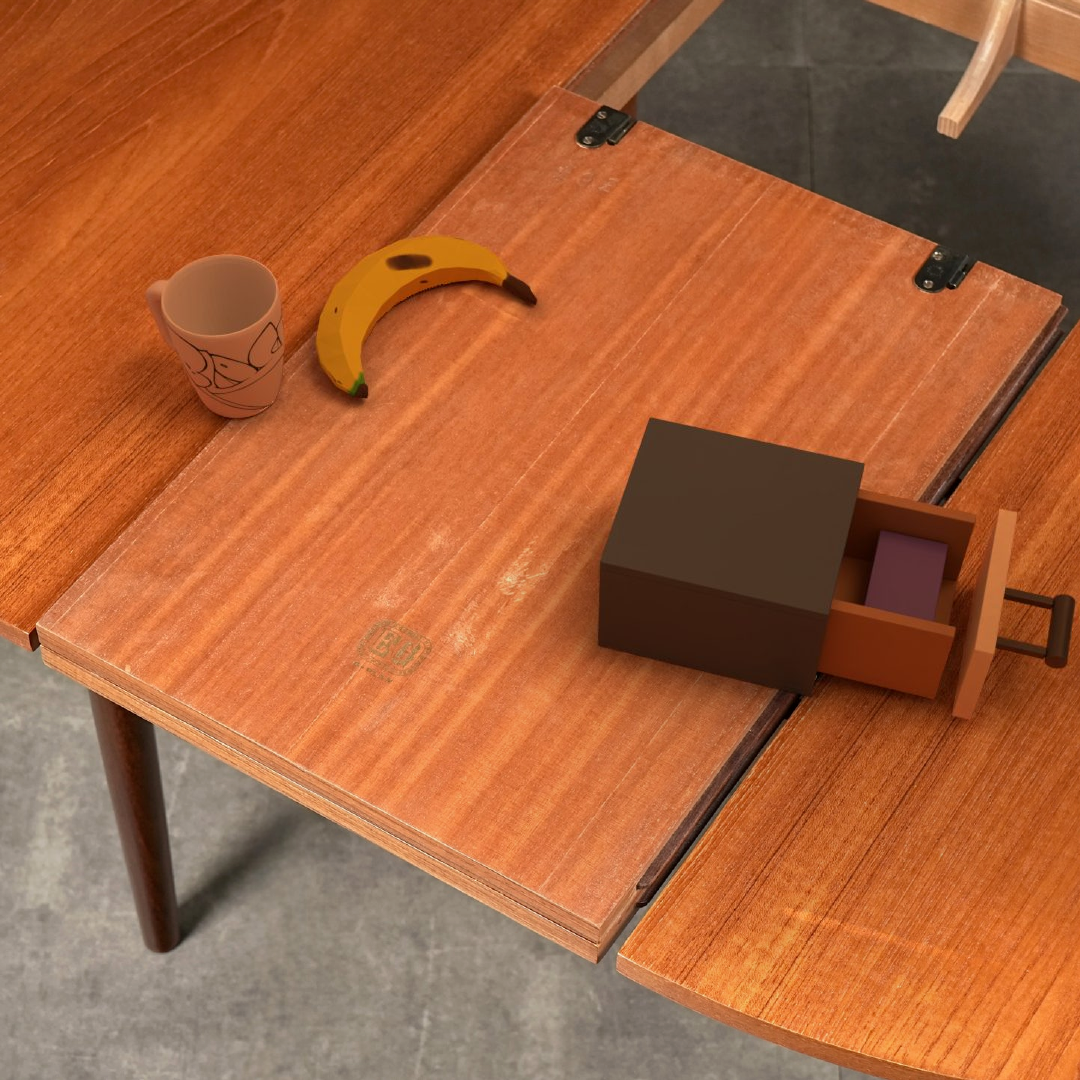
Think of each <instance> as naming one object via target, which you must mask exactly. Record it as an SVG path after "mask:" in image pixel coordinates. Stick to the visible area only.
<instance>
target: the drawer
mask: <svg viewBox="0 0 1080 1080" xmlns="http://www.w3.org/2000/svg"><path fill="white" fill-rule="evenodd" d="M977 517H978V516H977V514H976V513H972V512H968V511H963V510H958V509H954V508H949V507H945V506H940V505H935V504H931V503H926V502H922V501H916V500H913V499H908V498H903V497H899V496H894V495H891V494H885V493H881V492H876V491H871V490H866V489H862V488H860V489H859V492H858V496H857V500H856V504H855V508H854V513H853V517H852V521H851V525H850V529H849V534H848V538H847V542H846V546H845V550H844V554H843V559H842V563H841V567H840V571H839V575H838V579H837V584H836V588H835V592H834V596H833V600H832V605H831V609H830V613H829V618H828V622H827V627H826V631H825V636H824V641H823V645H822V650H821V655H820V659H819V664H818V669H817V673H818V672H819V673H824V674H827V675H830V676H835V677H839V678H843V679H848V680H852V681H857V682H861V683H864V684H869V685H873V686H877V687H881V688H885V689H890V690H894V691H898V692H902V693H906V694H911V695H915V696H918V697H924V698H928V699H931V700H935V697H936V695H937V691H938V689H939V685H940V682H941V679H942V677H943V673H944V670H945V667H946V665H947V661H948V658H949V655H950V652H951V648H952V645H953V642H954V639H955V634H956V630H957V627H956V626H953V625H950V621H951V617H952V611H953V606H954V599H955V594H956V588H957V583H958V579H959V576H960V573H961V570H962V567H963V564H964V560H965V558H966V554H967V551H968V548H969V545H970V541H971V538H972V535H973V532H974V528H975V526H976V522H977ZM1017 520H1018V512H1017V511H1013V510H1008V509H1004V508H999V509H998V511H997V515H996V517H995V521H994V524H993V527H992V530H991V532H990V536H989V539H988V542H987V545H986V548H985V551H984V554H983V556H982V559H981V563H980V566H979V569H978V572H977V575H976V579H975V583H974V590H973V594H972V599H971V600H972V601H971V606H970V612H969V616H968V623H967V630H966V633H965V634H966V635H965V640H964V645H963V651H962V657H961V661H960V662H961V663H960V667H959V673H958V677H957V685H956V690H955V695H954V701H953V707H952V713H951V716H952V717H957V718H960V719H966V720H971V719H972V716H973V714H974V712H975V709H976V706H977V703H978V700H979V697H980V694H981V692H982V689H983V686H984V684H985V681H986V678H987V675H988V674H989V673H988V672H989V670H990V668H991V664H992V662H993V658H994V656H995V653H996V649H997V650H1001V651H1005V652H1009V653H1010V652H1011V653H1014V654H1018V655H1023V656H1028V657H1031V658H1036V659H1040V660H1043V661H1044V664H1045V665H1046V666H1047V667H1049V668H1051V669H1057V670H1059V669H1064V668H1066V666H1067V665H1068V661H1069V652H1070V648H1071V647H1070V645H1071V639H1072V631H1073V623H1074V615H1075V608H1076V599H1075V598H1074V597H1073V596H1072V595H1069V594H1064V593H1059V594H1057V595H1055V596H1053V597H1052V596H1047V595H1042V594H1038V593H1034V592H1029V591H1024V590H1019V589H1015V588H1012V587H1007V580H1008V574H1009V569H1010V564H1011V563H1010V562H1011V557H1012V550H1013V544H1014V539H1015V533H1016V527H1017ZM881 530H884V531H888V532H893V533H898V534H902V535H907V536H912V537H916V538H921V539H925V540H930V541H935V542H939V543H944V544H948V549H947V555H946V560H945V566H944V571H943V576H942V582H941V587H940V592H939V598H938V603H937V609H936V614H935V619H934V622H931V621H927V620H923V619H918V618H914V617H910V616H905V615H901V614H897V613H892V612H888V611H884V610H879V609H875V608H871V607H866V606H863V604H864V599H865V595H866V590H867V586H868V581H869V577H870V572H871V567H872V563H873V559H874V555H875V551H876V546H877V542H878V538H879V534H880V531H881ZM1004 600H1005V601H1009V602H1014V603H1018V604H1024V605H1027V606H1031V607H1036V608H1041V609H1045V610H1049V611H1050V618H1049V625H1048V631H1047V638H1046V646H1041V645H1036V644H1032V643H1028V642H1023V641H1019V640H1016V639H1011V638H1006V637H1003V636H999V635H998V634H999V629H1000V623H1001V617H1002V611H1003V606H1004V605H1003V604H1004Z"/></svg>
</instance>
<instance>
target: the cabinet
mask: <svg viewBox="0 0 1080 1080" xmlns="http://www.w3.org/2000/svg"><path fill="white" fill-rule="evenodd" d="M865 466H866V463H865V462H860V461H855V460H851V459H847V458H842V457H838V456H832V455H828V454H823V453H818V452H814V451H809V450H806V449H805V450H804V449H801V448H796V447H791V446H787V445H781V444H777V443H773V442H767V441H762V440H758V439H753V438H750V437H744V436H740V435H735V434H731V433H726V432H721V431H716V430H711V429H706V428H703V427H697V426H693V425H689V424H684V423H679V422H674V421H670V420H665V419H660V418H655V417H651V416H649V418H648V421H647V425H646V427H645V430H644V433H643V435H642V438H641V441H640V444H639V447H638V450H637V453H636V456H635V459H634V462H633V464H632V467H631V470H630V473H629V476H628V479H627V481H626V485H625V488H624V491H623V493H622V497H621V499H620V502H619V505H618V508H617V511H616V513H615V517H614V520H613V522H612V524H611V525H612V526H611V528H610V531H609V534H608V537H607V540H606V542H605V544H604V545H605V546H604V548H603V550H602V551H603V552H602V554H601V558H600V559H599V560H600V561H599V575H598V576H599V580H598V615H597V616H598V617H597V618H598V622H597V646H599V647H601V648H606V649H607V648H608V649H611V650H614V651H619V652H623V653H628V654H632V655H636V656H640V657H644V658H648V659H652V660H656V661H660V662H665V663H669V664H673V665H677V666H682V667H685V668H689V669H693V670H698V671H702V672H706V673H711V674H714V675H719V676H722V677H725V678H731V679H735V680H739V681H743V682H746V683H752V684H756V685H760V686H763V687H767V688H772V689H777V690H779V691H783V692H788V693H791V694H797V695H802V696H805V697H808V698H809V697H812V695H813V691H814V686H815V683H816V682H815V681H816V678H817V674H818V671H817V669H818V664H819V659H820V655H821V650H822V645H823V641H824V636H825V631H826V627H827V622H828V618H829V613H830V609H831V605H832V600H833V596H834V592H835V588H836V584H837V579H838V575H839V571H840V567H841V563H842V559H843V554H844V550H845V546H846V542H847V538H848V534H849V529H850V525H851V521H852V517H853V513H854V508H855V504H856V500H857V496H858V492H859V489H861V484H862V481H863V476H864V470H865Z"/></svg>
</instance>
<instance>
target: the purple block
mask: <svg viewBox="0 0 1080 1080" xmlns="http://www.w3.org/2000/svg"><path fill="white" fill-rule="evenodd" d="M947 549H948V544H944V543H939V542H935V541H930V540H925V539H921V538H916V537H912V536H907V535H902V534H898V533H893V532H888V531H884V530H881V531H880V534H879V538H878V542H877V546H876V551H875V555H874V559H873V563H872V567H871V572H870V577H869V581H868V586H867V590H866V595H865V599H864V604H863V606H866V607H871V608H875V609H879V610H884V611H888V612H892V613H897V614H901V615H905V616H910V617H914V618H918V619H923V620H927V621H931V622H934V619H935V614H936V609H937V603H938V598H939V592H940V587H941V582H942V576H943V571H944V566H945V560H946V555H947Z"/></svg>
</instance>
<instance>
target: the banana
mask: <svg viewBox="0 0 1080 1080" xmlns="http://www.w3.org/2000/svg"><path fill="white" fill-rule="evenodd" d="M475 280H476V281H481V282H487V283H491V284H494V285H497V286H500V287H501V288H503V289H504V290H507V291H508V292H509V293H511V294H512V295H514V296H516V297H518V298H520V299H521V300H523V301H525V302H526V303H529V304H530V305H532V306H537V303H538V298H537V297H536V296H535V294H534V292H533V291H532V289H531V286H530V285H528V284H527V283H526V282H525V281H523V280H521V279H519V278H518V277H515V276H513V275H512V274H511V273H510V270H509V268H508V267H507V265H506V264H505V262H504V260H502V259H501V258H500V257H499V256H498V255H496V254H495V253H494V252H493V251H492V250H490V249H489V248H488V247H486V246H483V245H481V244H478V243H476V242H473V241H470V240H468V239H465V238H462V237H455V236H447V235H441V234H433V233H432V234H426V235H421V236H414V237H407V238H402V239H399V240H396V241H395V242H393V243H390V244H388V245H386V246H384V247H382V248H380V249H378V250H376V251H373V252H372V253H369V254H368V255H365V256H364V257H362V258H361V259H360V261H358V262H357V263H356V264H355V265H354V266H353V267H352V268H351V269H350V270H349V271H348V272H347V273H345V275H344V276H343V277H341V279H340V280H339V281H338V282H337V283H336V284H335V285H334V286H333V288H332V290H331V292H330V293H329V294H330V295H329V296H328V298H327V300H326V302H325V304H324V307H323V309H322V310H321V313H320V316H319V321H318V327H317V332H316V337H315V344H314V345H315V350H316V354H317V358H318V363H319V366H320V367H321V369H322V370H323V371H324V373H325V374H326V375H327V377H328V378H329V380H331V382H332V383H333V385H334V386H335V387H336V388H338V389H340V390H341V391H344V392H345V393H347V394H349V395H351V396H352V397H354V398H358V399H368V398H369V385H367V384H366V380H365V376H364V375H365V374H364V370H363V364H362V350H361V349H363V348H364V347H363V346H364V345H363V344H365V343H364V342H366V341H367V340H368V338H369V337H370V335H371V333H372V331H373V330H374V328H375V327H374V326H376V325H377V323H378V322H379V321H380V320H381V319H382V318H383V317H384V316H385V315H386V314H387V313H389V312H390V311H391V310H392V309H393V308H394V307H395V306H396V305H397V304H399V303H400V301H401V302H403V301H404V300H407V299H408V298H410V297H412V296H413V295H415V294H417V293H419V291H420V292H422V290H423V291H426V290H428V289H427V288H429V289H431V288H430V287H432V288H435V287H437V286H436V285H439V286H442V285H441V284H443V285H447V284H451V282H452V283H457V282H467V281H475ZM434 286H435V287H434ZM425 289H426V290H425ZM412 294H413V295H412ZM411 295H412V296H411ZM409 296H410V297H409ZM407 297H408V298H407ZM398 302H399V303H398ZM396 303H397V304H396ZM394 305H395V306H394ZM393 306H394V307H393ZM392 307H393V308H392ZM391 308H392V309H391ZM386 312H387V313H386ZM385 313H386V314H385ZM384 314H385V315H384ZM383 315H384V316H383ZM382 316H383V317H382ZM381 317H382V318H381ZM380 318H381V319H380ZM379 319H380V320H379ZM378 320H379V321H378ZM377 321H378V322H377ZM376 322H377V323H376ZM375 324H376V325H375ZM373 327H374V328H373ZM372 329H373V330H372ZM370 332H371V333H370ZM369 334H370V335H369ZM367 337H368V338H367ZM366 339H367V340H366Z"/></svg>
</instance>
